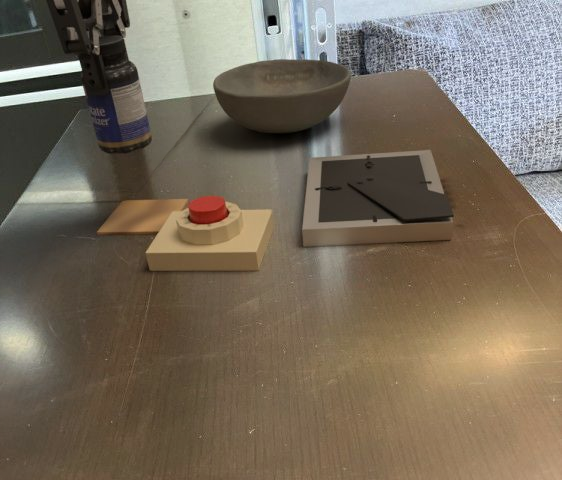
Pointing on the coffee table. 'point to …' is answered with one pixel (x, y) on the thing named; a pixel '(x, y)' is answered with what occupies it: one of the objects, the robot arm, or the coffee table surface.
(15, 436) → the coffee table surface
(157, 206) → the coaster
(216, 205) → the button
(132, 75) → the pill bottle
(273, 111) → the bowl
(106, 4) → the robot arm
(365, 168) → the picture frame
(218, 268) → the desk block
